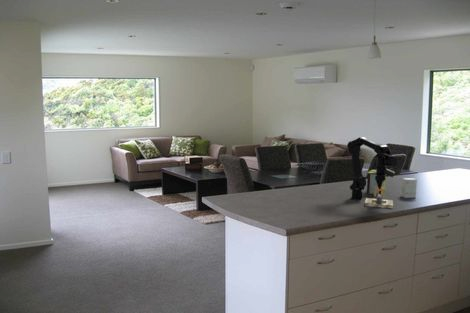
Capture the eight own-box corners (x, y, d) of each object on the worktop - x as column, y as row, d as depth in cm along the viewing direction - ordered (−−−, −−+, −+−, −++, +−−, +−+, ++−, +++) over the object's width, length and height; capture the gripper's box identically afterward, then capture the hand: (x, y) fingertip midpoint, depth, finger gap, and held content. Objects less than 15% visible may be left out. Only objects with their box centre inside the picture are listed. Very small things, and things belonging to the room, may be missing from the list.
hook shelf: (364, 205, 316) (365, 197, 315) (365, 200, 330) (366, 192, 329) (392, 208, 311) (393, 199, 310) (392, 203, 325) (393, 195, 324)
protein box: (385, 191, 362) (386, 170, 360) (381, 195, 349) (382, 173, 347) (370, 190, 367) (372, 169, 365) (366, 193, 354) (367, 172, 351)
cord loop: (374, 196, 319) (375, 181, 318) (374, 195, 322) (375, 180, 321) (384, 197, 317) (385, 182, 316) (384, 196, 320) (385, 181, 319)
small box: (411, 195, 349) (413, 177, 348) (415, 197, 343) (417, 179, 341) (400, 195, 348) (401, 177, 347) (404, 197, 342) (405, 179, 340)
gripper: (394, 167, 305) (392, 192, 308) (394, 163, 323) (392, 187, 325) (375, 166, 309) (374, 191, 311) (376, 162, 326) (375, 185, 329)
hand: (379, 188), depth 319 cm, fingers closed on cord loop, 3 cm apart
